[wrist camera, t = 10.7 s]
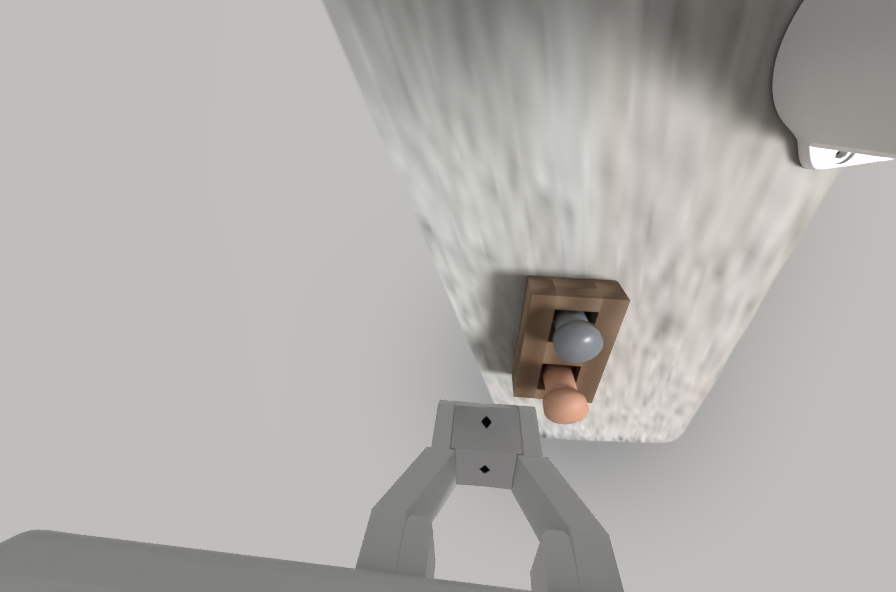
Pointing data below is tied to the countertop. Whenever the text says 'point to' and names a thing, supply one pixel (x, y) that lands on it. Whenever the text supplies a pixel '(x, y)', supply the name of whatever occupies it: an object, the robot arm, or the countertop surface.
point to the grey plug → (575, 336)
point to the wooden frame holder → (537, 329)
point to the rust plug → (562, 395)
